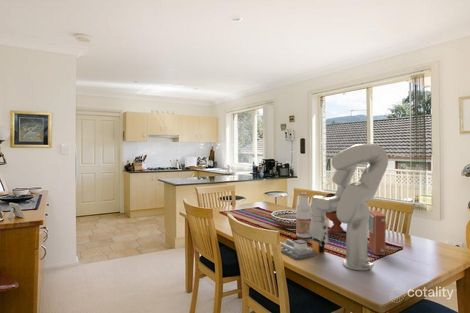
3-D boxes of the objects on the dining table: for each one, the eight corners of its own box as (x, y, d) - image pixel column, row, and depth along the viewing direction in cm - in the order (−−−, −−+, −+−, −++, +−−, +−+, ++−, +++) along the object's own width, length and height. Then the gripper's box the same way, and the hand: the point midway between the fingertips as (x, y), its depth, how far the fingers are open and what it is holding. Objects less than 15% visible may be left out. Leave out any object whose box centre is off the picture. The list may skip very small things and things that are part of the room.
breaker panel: (315, 255, 161) (315, 248, 161) (296, 259, 155) (296, 253, 155) (289, 243, 180) (289, 237, 180) (272, 247, 174) (272, 241, 174)
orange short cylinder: (324, 252, 165) (324, 240, 165) (318, 254, 163) (318, 241, 162) (318, 250, 169) (318, 237, 169) (312, 251, 167) (312, 239, 166)
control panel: (379, 246, 174) (387, 256, 160) (366, 246, 176) (373, 255, 161) (380, 210, 174) (387, 216, 159) (367, 209, 175) (373, 215, 160)
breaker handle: (306, 251, 161) (306, 241, 161) (299, 253, 159) (299, 243, 159) (300, 249, 166) (300, 239, 165) (293, 250, 163) (293, 240, 163)
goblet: (354, 229, 212) (354, 193, 211) (348, 235, 195) (348, 197, 194) (326, 225, 222) (326, 191, 221) (319, 231, 205) (319, 195, 205)
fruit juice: (293, 235, 197) (293, 192, 196) (303, 233, 202) (303, 191, 201) (303, 239, 189) (303, 194, 188) (314, 236, 194) (314, 193, 193)
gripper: (335, 220, 159) (334, 254, 160) (312, 214, 174) (312, 245, 175) (324, 222, 156) (324, 257, 157) (302, 215, 171) (302, 247, 171)
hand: (318, 250), depth 166 cm, fingers closed on orange short cylinder, 4 cm apart
